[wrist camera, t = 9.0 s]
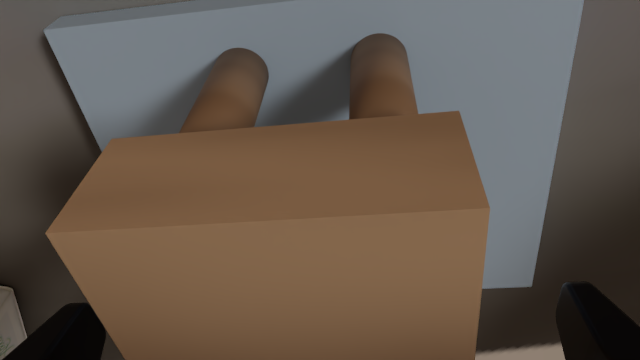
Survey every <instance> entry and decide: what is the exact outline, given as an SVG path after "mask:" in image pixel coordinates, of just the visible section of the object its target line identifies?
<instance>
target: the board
mask: <svg viewBox="0 0 640 360" xmlns="http://www.w3.org/2000/svg"><path fill="white" fill-rule="evenodd" d="M583 3H584V0H194V1H186V2H178V3H170V4H161V5H153V6H145V7H136V8H128V9H120V10H112V11H103V12H95V13H87V14H79V15H70V16H62V17H59V18H58V19H57V20H56V21H54V22H53V23H52V24H50V25H49V26H48V27H46V28H45V29H44V30H43V31H44V33H45V35H46V37H47V39H48V42H49V44H50V46H51V48H52V50H53V52H54V54H55V56H56V58H57V60H58V62H59V64H60V66H61V68H62V71H63V73H64V75H65V77H66V79H67V81H68V83H69V85H70V87H71V89H72V91H73V93H74V95H75V98H76V100H77V102H78V104H79V106H80V108H81V110H82V112H83V114H84V116H85V118H86V120H87V122H88V125H89V127H90V129H91V131H92V133H93V135H94V137H95V139H96V141H97V143H98V145H99V147H100V149H101V152H103V150H104V149H105V147H106V146H107V145H108V143H109V142H110V140H111V139H115V138H127V137H140V136H152V135H165V134H177V133H179V132H180V130H181V128H182V126H183V124H184V122H185V120H186V118H187V116H188V114H189V112H190V110H191V108H192V107H193V105H194V103H195V101H196V99H197V97H198V95H199V93H200V91H201V89H202V87H203V85H204V83H205V82H206V80H207V78H208V76H209V74H210V72H211V70H212V68H213V66H214V64H215V62H216V60H217V59H218V57H219V56H220V55H221V54H222V53H223V52H224V51H226V50H228V49H231V48H245V49H249V50H251V51H253V52H255V53H256V54H258V55H259V56H260V57H261V58H262V59H263V60H264V62H265V64H266V66H267V68H268V72H269V79H268V83H267V87H266V90H265V93H264V97H263V100H262V103H261V106H260V110H259V113H258V116H257V120H256V123H255V126H254V127H264V126H276V125H288V124H301V123H313V122H326V121H338V120H349V104H350V62H351V54H352V51H353V49H354V47H355V46H356V45H357V43H358V42H359V41H360V40H362V39H363V38H365V37H366V36H369V35H372V34H376V33H384V34H389V35H392V36H394V37H396V38H397V39H398V40H399V41H400V42H401V43H402V44H403V45H404V47H405V49H406V52H407V56H408V62H409V67H410V72H411V78H412V83H413V88H414V93H415V99H416V104H417V109H418V114H425V113H437V112H449V111H459V112H460V115H461V118H462V121H463V124H464V127H465V131H466V134H467V137H468V140H469V143H470V146H471V149H472V153H473V156H474V159H475V162H476V165H477V168H478V171H479V175H480V178H481V181H482V184H483V187H484V190H485V193H486V197H487V200H488V203H489V206H490V214H489V224H488V234H487V244H486V254H485V264H484V273H483V283H482V289H489V288H513V287H532V282H533V277H534V271H535V266H536V260H537V255H538V249H539V244H540V238H541V233H542V227H543V222H544V216H545V211H546V205H547V200H548V195H549V189H550V184H551V178H552V173H553V167H554V162H555V156H556V151H557V145H558V140H559V134H560V129H561V123H562V118H563V112H564V107H565V102H566V96H567V91H568V85H569V80H570V74H571V69H572V63H573V58H574V52H575V47H576V41H577V36H578V30H579V25H580V19H581V14H582V9H583Z"/></svg>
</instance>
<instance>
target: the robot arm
mask: <svg viewBox="0 0 640 360" xmlns="http://www.w3.org/2000/svg"><path fill="white" fill-rule="evenodd" d="M556 322H557V327H558V331H559V335H560V339H561V343H562V347H563V351H564V355H565V359H566V360H640V327H639V326H638V325H637V324H636V323H635V322H634V321H633V320H632V319H630V318H629V317H628V316H627V315H626V314H625V313H624V312H623V311H621V310H620V309H619V308H618V307H617V306H616V305H615V304H614V303H613V302H611V301H610V300H609V299H608V298H607V297H606V296H605V295H604V294H602V293H601V292H600V291H599V290H598V289H597V288H596V287H595V286H593V285H592V284H591V283H589V282H584V281H583V282H566V283H564V284H563V286H562V288H561V292H560V296H559V301H558V305H557V309H556ZM105 338H106V332H105V327H104V325H103V324H102V322H101V321H100V319H99V318H98V316H97V314H96V313H95V311H94V310H93V308H92V307H91V305H89V304H88V303H70V304H67V305H65V306H64V307H62V308H61V309H60V310H59V311H58V312H56V313H55V314H54V315H53V316H52V317H51V318H49V319H48V320H47V321H46V322H45V323H44V324H42V325H41V326H40V327H39V328H38V329H37V330H36V331H34V332H33V333H32V334H31V335H30V336H29V337H27V338H26V339H25V340H24V341H23V342H22V343H20V344H19V345H18V346H17V347H16V348H15V349H14V350H12V351H11V352H10V353H9V354H8V355H7V356H5V357H4V358H3V359H2V360H101V356H102V351H103V347H104V343H105Z"/></svg>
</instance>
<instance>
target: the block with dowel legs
mask: <svg viewBox="0 0 640 360" xmlns="http://www.w3.org/2000/svg"><path fill="white" fill-rule="evenodd" d="M268 79H269V72H268V68H267V66H266V64H265V62H264V60H263V59H262V58H261V57H260V56H259V55H258V54H256V53H255V52H253V51H251V50H249V49H245V48H231V49H228V50H226V51H224V52H223V53H222V54H221V55H220V56H219V57H218V59H217V60H216V62H215V64H214V66H213V68H212V70H211V72H210V74H209V76H208V78H207V80H206V82H205V83H204V85H203V87H202V89H201V91H200V93H199V95H198V97H197V99H196V101H195V103H194V105H193V107H192V108H191V110H190V112H189V114H188V116H187V118H186V120H185V122H184V124H183V126H182V128H181V130H180V132H179V133H177V134H165V135H152V136H140V137H127V138H115V139H111V140H110V142H109V143H108V145H107V146H106V147H105V149H104V150H103V152H102V153H101V155H100V156H99V157H98V159H97V160H96V162H95V163H94V165H93V166H92V167H91V169H90V170H89V172H88V173H87V175H86V176H85V177H84V179H83V180H82V182H81V183H80V184H79V186H78V187H77V189H76V190H75V192H74V193H73V194H72V196H71V197H70V199H69V200H68V202H67V203H66V204H65V206H64V207H63V209H62V210H61V212H60V213H59V214H58V216H57V217H56V219H55V220H54V221H53V223H52V224H51V226H50V227H49V229H48V230H47V231H46V233H45V234H46V235H47V237H48V239H49V240H50V242H51V243H52V245H53V246H54V248H55V250H56V251H57V253H58V254H59V256H60V258H61V259H62V261H63V262H64V264H65V265H66V267H67V269H68V270H69V272H70V273H71V275H72V276H73V278H74V280H75V281H76V283H77V284H78V286H79V288H80V289H81V291H82V292H83V294H84V295H85V297H86V299H87V300H88V302H89V303H90V305H91V307H92V308H93V310H94V311H95V313H96V314H97V316H98V318H99V319H100V321H101V322H102V324H103V325H104V327H105V329H106V330H107V332H108V333H109V335H110V337H111V338H112V340H113V341H114V343H115V344H116V346H117V348H118V349H119V351H120V352H121V354H122V355H123V357H124V359H125V360H475V352H476V342H477V332H478V323H479V313H480V303H481V293H482V283H483V273H484V264H485V254H486V244H487V234H488V224H489V214H490V206H489V203H488V200H487V197H486V193H485V190H484V187H483V184H482V181H481V178H480V175H479V171H478V168H477V165H476V162H475V159H474V156H473V153H472V149H471V146H470V143H469V140H468V137H467V134H466V131H465V127H464V124H463V121H462V118H461V115H460V112H459V111H449V112H437V113H425V114H418V109H417V104H416V99H415V93H414V88H413V83H412V78H411V72H410V67H409V62H408V56H407V52H406V49H405V47H404V45H403V44H402V43H401V42H400V41H399V40H398V39H397V38H396V37H394V36H392V35H389V34H384V33H376V34H372V35H369V36H366V37H365V38H363V39H362V40H360V41H359V42H358V43H357V45H356V46H355V47H354V49H353V51H352V54H351V62H350V104H349V120H338V121H326V122H313V123H301V124H288V125H276V126H264V127H254V126H255V123H256V120H257V116H258V113H259V110H260V106H261V103H262V100H263V97H264V93H265V90H266V87H267V83H268Z"/></svg>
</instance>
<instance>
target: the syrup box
mask: <svg viewBox="0 0 640 360" xmlns="http://www.w3.org/2000/svg"><path fill="white" fill-rule="evenodd" d="M26 338H27V335H26V331H25V328H24V324H23V321H22V318H21V314H20V311H19V308H18V304H17V301H16V298H15V295H14V291H13V289H12V288H9V287H5V286H0V360H2V359H3V358H4V357H5V356H7V355H8V354H9V353H10V352H11V351H12V350H14V349H15V348H16V347H17V346H18V345H19V344H20V343H22V342H23V341H24V340H25V339H26Z"/></svg>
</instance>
